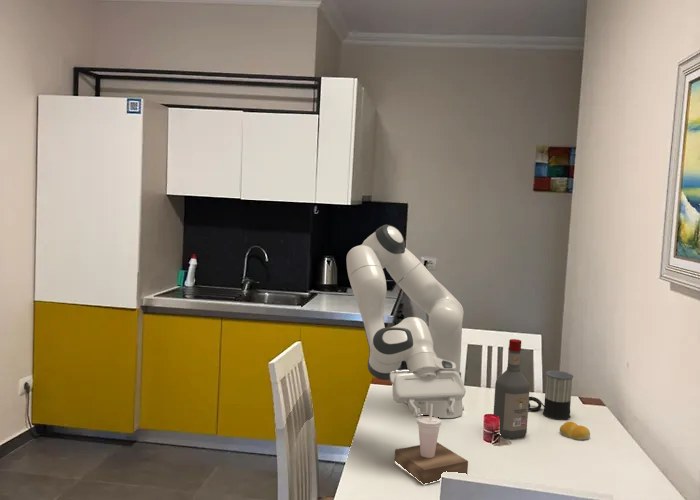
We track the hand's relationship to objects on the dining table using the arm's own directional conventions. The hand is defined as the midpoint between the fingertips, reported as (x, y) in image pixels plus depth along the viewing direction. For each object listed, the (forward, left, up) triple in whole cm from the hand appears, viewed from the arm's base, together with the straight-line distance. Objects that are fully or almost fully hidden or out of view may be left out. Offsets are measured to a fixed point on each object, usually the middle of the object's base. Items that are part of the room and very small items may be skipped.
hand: (434, 415), depth 167 cm
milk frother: (-23, +65, -15) cm, 70 cm away
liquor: (-12, +38, -15) cm, 43 cm away
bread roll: (-3, +58, -15) cm, 60 cm away
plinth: (0, -1, -15) cm, 15 cm away
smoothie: (0, -1, -11) cm, 11 cm away
